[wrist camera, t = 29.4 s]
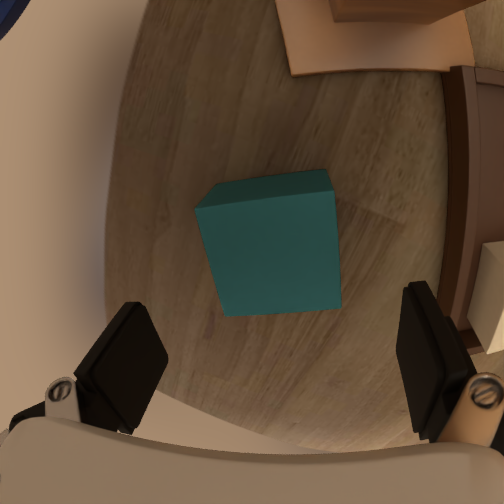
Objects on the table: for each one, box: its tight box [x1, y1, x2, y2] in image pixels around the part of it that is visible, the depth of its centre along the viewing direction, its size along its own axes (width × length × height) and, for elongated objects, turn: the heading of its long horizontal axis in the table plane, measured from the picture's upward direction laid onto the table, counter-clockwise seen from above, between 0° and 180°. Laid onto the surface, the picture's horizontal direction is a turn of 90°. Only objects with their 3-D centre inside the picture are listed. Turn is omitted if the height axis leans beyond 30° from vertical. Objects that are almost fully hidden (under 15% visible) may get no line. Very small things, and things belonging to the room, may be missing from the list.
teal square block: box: [194, 169, 342, 316], centre depth 16 cm, size 6×6×4 cm
